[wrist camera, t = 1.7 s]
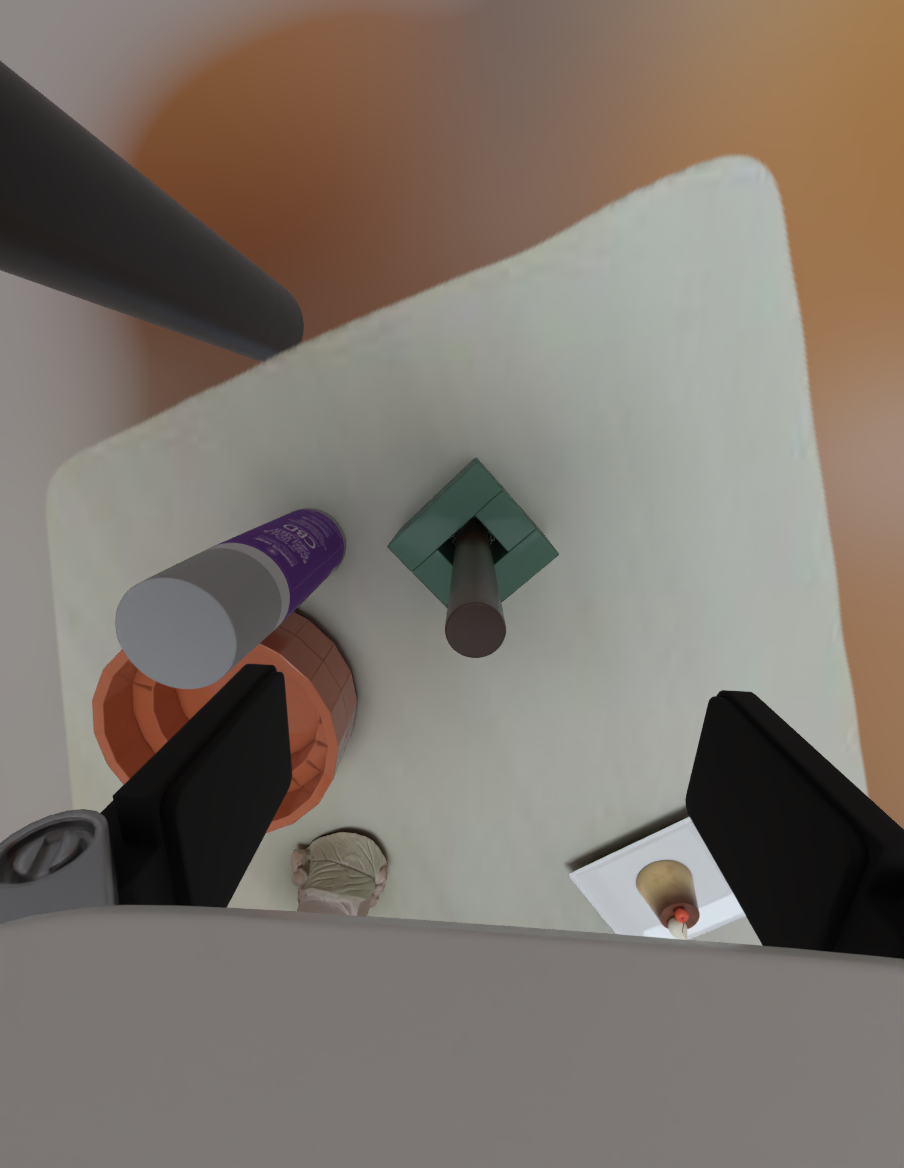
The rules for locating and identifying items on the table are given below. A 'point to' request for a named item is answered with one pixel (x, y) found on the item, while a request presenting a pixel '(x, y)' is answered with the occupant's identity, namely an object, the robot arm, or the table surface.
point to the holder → (461, 499)
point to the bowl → (157, 712)
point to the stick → (474, 595)
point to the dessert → (660, 886)
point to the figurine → (339, 874)
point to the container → (226, 599)
